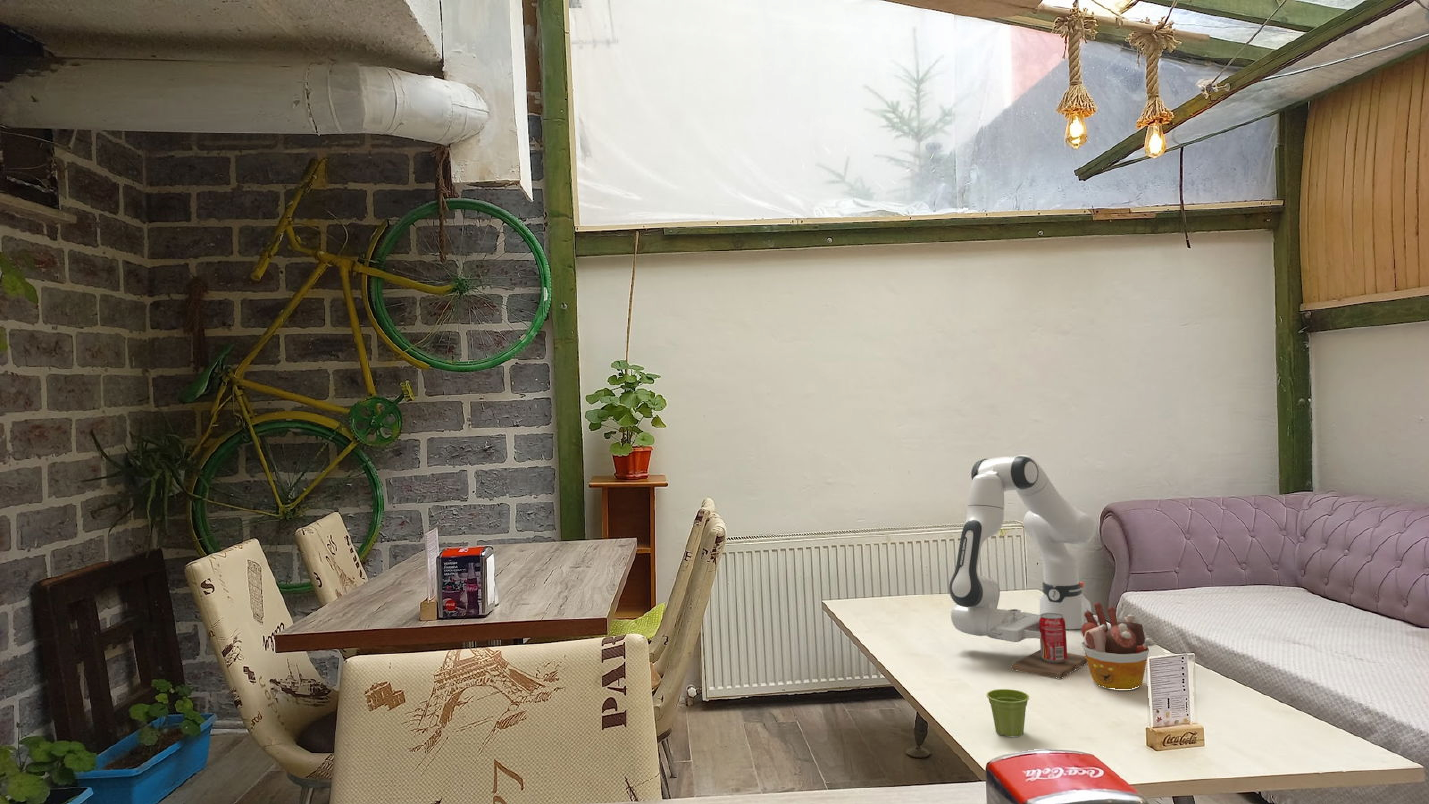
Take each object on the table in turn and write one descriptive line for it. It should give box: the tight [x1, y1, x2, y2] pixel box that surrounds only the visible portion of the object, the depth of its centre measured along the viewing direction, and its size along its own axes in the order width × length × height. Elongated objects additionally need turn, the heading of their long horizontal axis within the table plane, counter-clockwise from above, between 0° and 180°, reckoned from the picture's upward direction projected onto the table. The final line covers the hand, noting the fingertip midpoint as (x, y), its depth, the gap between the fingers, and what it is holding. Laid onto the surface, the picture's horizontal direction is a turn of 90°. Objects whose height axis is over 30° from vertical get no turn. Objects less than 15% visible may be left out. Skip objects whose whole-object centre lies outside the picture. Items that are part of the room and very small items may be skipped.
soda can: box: [1039, 613, 1068, 663], centre depth 248 cm, size 7×7×13 cm
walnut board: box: [1011, 649, 1088, 679], centre depth 248 cm, size 20×14×2 cm
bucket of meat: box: [1081, 601, 1156, 689], centre depth 230 cm, size 20×16×20 cm
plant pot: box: [986, 688, 1030, 737], centre depth 200 cm, size 9×9×9 cm
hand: (1048, 631), depth 248 cm, fingers open, 8 cm apart
